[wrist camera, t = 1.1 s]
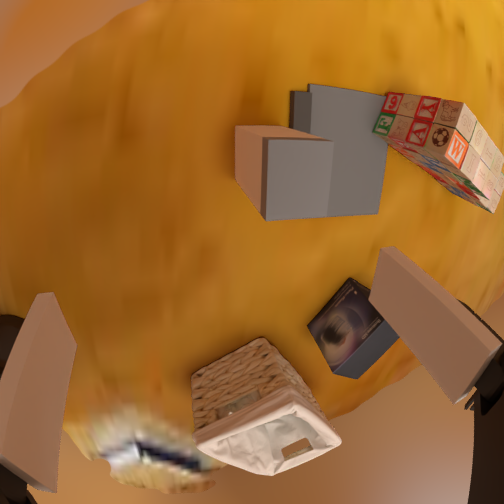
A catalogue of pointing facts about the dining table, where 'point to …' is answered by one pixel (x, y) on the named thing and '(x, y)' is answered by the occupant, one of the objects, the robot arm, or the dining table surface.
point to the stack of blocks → (444, 145)
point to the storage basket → (257, 411)
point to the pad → (345, 144)
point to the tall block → (283, 171)
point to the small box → (351, 331)
